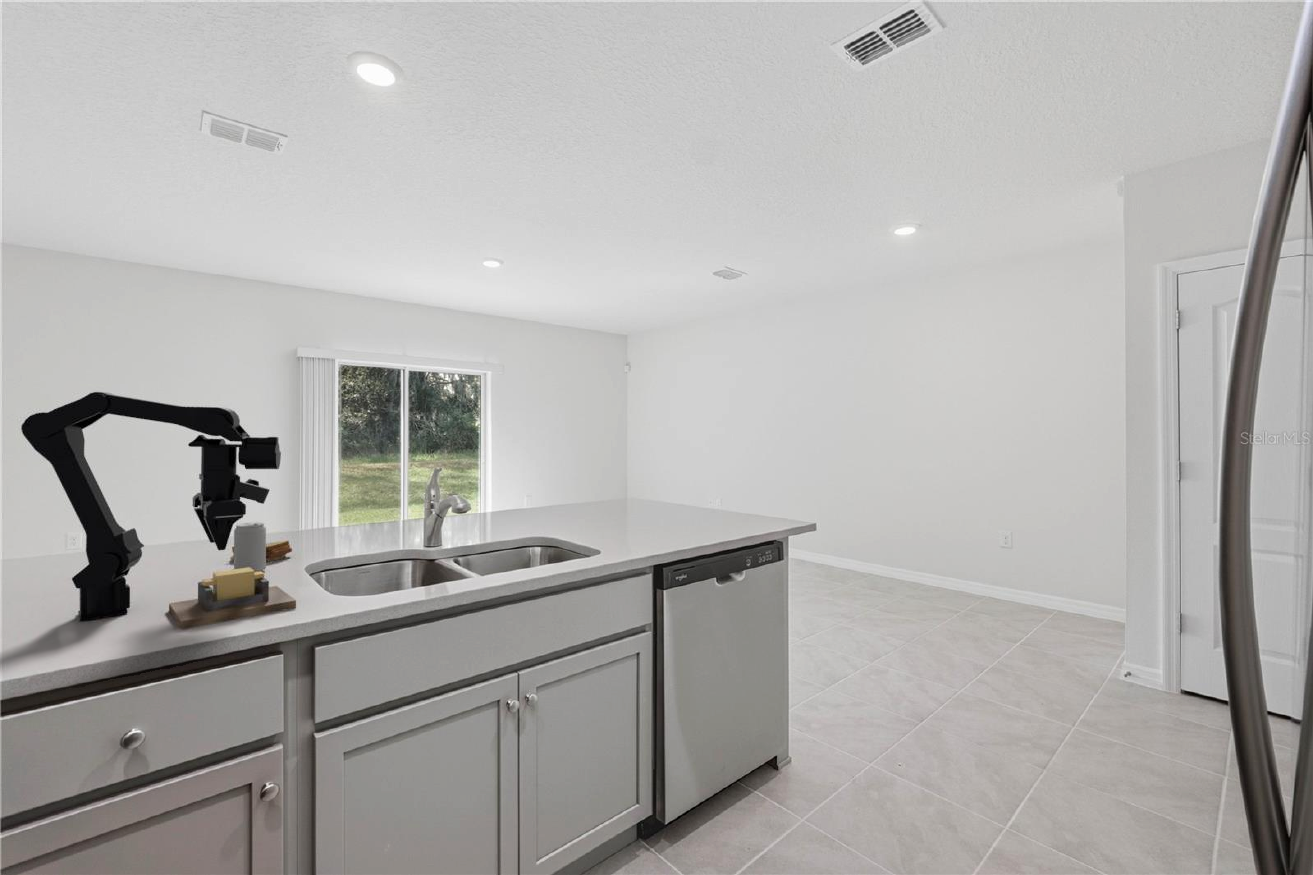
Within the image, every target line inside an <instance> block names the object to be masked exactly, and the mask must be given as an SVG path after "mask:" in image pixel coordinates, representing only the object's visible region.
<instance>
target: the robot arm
mask: <svg viewBox="0 0 1313 875" xmlns="http://www.w3.org/2000/svg"><path fill="white" fill-rule="evenodd" d="M107 415H114V416H122V417H126V418H133V419H139V420H146V421H153V422H160V423H165V424H172V425H177V426H180V427H184V428H186V429H189V430H191V431H194V432H198V433H202V434H199V435H197V437H196V438H195V439H194V440H192V441H191V442H188V447H190V448H191V447H192V448H195V447H196V448H200V449H201V451H200V452H201V457H200V461H201V462H200V463H201V464H200V473H199V474H198V475H199V476H198V479H199V480H200V492H198V493H196V494H195V495H194V496H192V507H193V510H194V512H195V514H196V516H197V518H198V520H199V522H200V524H201V527H202V528H203V530H204V532H205V534H206V537H207V538H208V541H209V542H210V543H214V544H215V546H216V549H217V550H218V551H225V550H226V548H227V545H228V542H229V538H230V535H231V533H232V530H233V526H234V524H235V523H237V522H239V520H240V519H243V517H244V516H245V515H247V514H246V512H247V510H246V509H247V505H246V504H245V503H244V502H243V501H242V500H241V498H242V499H246V500H250V501H254V502H256V503H258V504H262V505H264V504H265V502H266V500H267V497H268V495H269V492H270V491H271V490H270V489H269V488H267V487H264V486H260V482H259V481H258V480H256V479H252V478H249V479H247V480H246V481H241V476H240V475H239V473H237V463H238V464H239V465H240V466H244V468H245V470H279V469H280V465H281V457H282V456H281V454H282V452H281V451H280V444H279V436H267V437H260V436H259V437H252V436H251V435H250V434H249V433H248V432H247V431H246V430H245V429H244V428H243V427H242V426H241V424H240V422H241V420H240V417H239V415H238V414H237V413H236V412H235V410H233V409H231V408H227V407H217V406H215V407H213V406H210V407H209V406H181V405H176V404H169V403H164V402H160V401H159V402H158V401H152V400H148V399H139V398H133V397H129V396H128V397H127V396H122V395H116V394H113V393H110V392H102V391H93V392H90V393H88V394H86V395H85V396H83V397H81V398H79V399H77V400H74V401H71V402H69V403H65V404H64V405H62V406H59V407H57V408H54V409H52V410H50V411H49V412H45V411H44V412H37V413H34V414H31V415H30V416H28V417H27V418H25V420H24V422H23V423H22V424H21V428H20V429H21V433H22V435H23V437H24V438H25V439H26V440H27V442H28V443H29V444H30V445H31V446H32V448H33V449H34V450H35V451H36V452H37V453H38V454H39V455H41V456H42V457H43V458H44V459H45V460H46V461H48V462H49V463H50V465H51V466H52V469H53V470H54V472H55V474H56V476H57V478H58V481H60V484H61V486H62V488H63V490H64V493H65V494H66V496H67V498H68V500H69V502H70V505H71V506H72V508H73V510H74V512H75V514H76V516H77V518H78V520H79V522H80V524H81V526H82V528H83V530H84V533H85V537H86V538H85V553H86V557H87V561H88V564H87V565H86V566H85V567H84V568H83V569H82V570H80V571H79V572H78V573H76V574H75V575H74V576H72V578H71V580H72V583H73V585H74V586H75V588H76V589H79V610H78V612H77V613H78V619H79V622H81V621H82V622H83V621H89V620H96V619H102V618H107V617H114V616H120V615H126V614H128V613H129V612H128V610H129V609H130V608H131V587H130V585H129V584H127V580H126V576H127V575H129V572H130V570H131V568H133V567H135V565H137V564H138V563H139V562H140V560H141V558H142V555H143V551H142V548H143V547H145V545H144V543H142V542H141V541H140V539H139V537H138V533H137V532H138V531H136V528H134V527H133V528H130V529H128V530H126V529H125V528H123V527H121V525H119V523H118V522H117V520H116V519H115V517H114V514H113V512H112V510H111V508H110V506H109V504H108V502H107V500H106V498H105V496H104V494H103V492H102V489H101V487H100V486H99V484H98V481H97V479H96V477H95V476H94V473H93V471H92V469H91V467H90V465H89V463H88V461H87V459H86V456H85V442H86V441H85V436H84V432H83V430H84V429H86V428H88V427H91V425H94V424H95V423H97V422H98V421H99V420H100V419H102V418H103V417H105V416H107ZM205 435H208V436H212V437H222V438H207V437H206V436H205ZM226 440H227V441H229V442H238V443H226ZM239 442H241V443H239ZM237 452H238V454H237ZM237 457H238V458H237ZM237 460H238V461H237Z"/></svg>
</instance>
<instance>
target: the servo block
mask: <svg viewBox="0 0 1313 875" xmlns="http://www.w3.org/2000/svg"><path fill="white" fill-rule="evenodd" d="M258 578H265V573H264V572H263V571H262V572H261V571H260V572H254V570H253V569H251V568H250V567H247V568H240V569H234V568H233V569H227V570H221V571H220V570H219V571H213V572H212V578H205V579H202V580H201V582H202V584H203V585H204V586H209V587H211V586H212V590H213V602H214V601H220V600H226V599H232V598H238V597H244V596H250V595H254V579H258Z"/></svg>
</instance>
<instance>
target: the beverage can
mask: <svg viewBox="0 0 1313 875" xmlns="http://www.w3.org/2000/svg"><path fill="white" fill-rule="evenodd" d="M266 541H267V528H266V526H265V523H264V522H262V521H261V522H260V521H259V522H258V521H256V522H242V523H237V524H235V529H234V530H233V547H234V561H233V569H240V568H247V567H250V568H251V569H253V570H254V572H260V571H261V572H263V571H264V570H266V568H267V562H266V543H267V542H266Z"/></svg>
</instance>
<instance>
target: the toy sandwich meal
mask: <svg viewBox="0 0 1313 875" xmlns="http://www.w3.org/2000/svg"><path fill="white" fill-rule="evenodd" d="M231 548H232V554H233V555H232V556H230V560H231V562H234V546H232V547H231ZM292 552H293V548H292V547H291V544H290V541H289V540H282V541H274V542H273V541H272V542H266V563H268V562H269V563H270V562H274V561H278V560H281V559H282V558H284V557H285V556H286V555H287V554H289V553H292Z"/></svg>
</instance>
